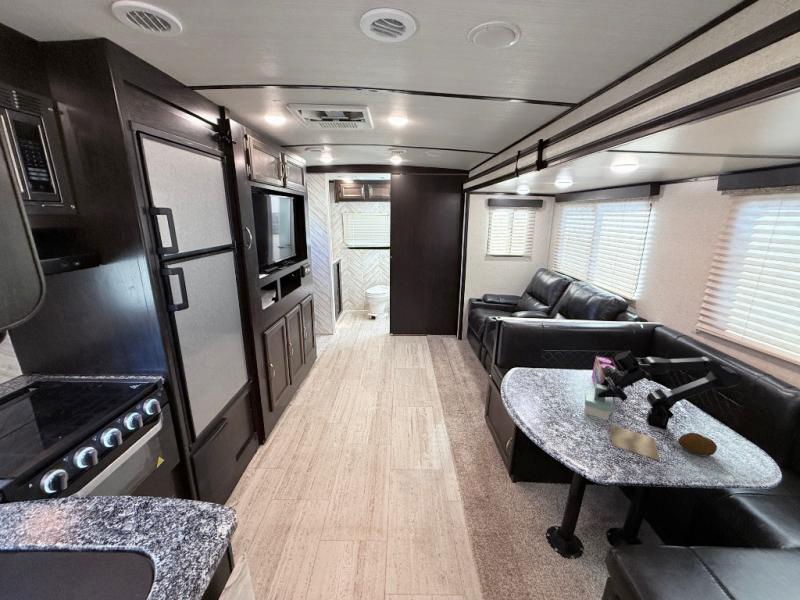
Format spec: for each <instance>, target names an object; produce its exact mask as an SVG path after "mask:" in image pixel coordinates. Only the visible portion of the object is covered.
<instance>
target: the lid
mask: <svg viewBox="0 0 800 600" xmlns="http://www.w3.org/2000/svg"><path fill="white" fill-rule="evenodd" d="M606 389H607V386H603V385H599V384H597V385H596V389H595V388H594V391H591V390H586V391H585V394H584V395H585V396H584V406H585V405H586V406H590V407H593V408H597V409H600V410H604V411H607V412H610V413H611V414H613V411H614V401H613V400H614V399H613V398H612V397H600V398H599V397H598V396H597V395H598V394H600V393H601V392H603V391H604V390H606Z"/></svg>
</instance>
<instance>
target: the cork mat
mask: <svg viewBox="0 0 800 600" xmlns="http://www.w3.org/2000/svg"><path fill="white" fill-rule="evenodd" d="M610 436H611V446H613V447H616V448H619V449H621V450H625V451H627V450H628V451H627V452H630V451H631V452H630V453H634V454H637V455H639V454H640V456H642V455H643V456H642V457H645V456H646V457H645V458H648V457H650V458H649V459H651V458H652V459H651V460H654V459H655V461H657V460H658V461H657V462H661V459H660V455H659V451H658V447H657V443H656V440H655V437H652V436H649V435H645V434H641V433H639V432H635V431H633V430H628V429H625V428H622V427H619V426H617V425H614V424H611V425H610Z"/></svg>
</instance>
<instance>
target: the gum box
mask: <svg viewBox="0 0 800 600" xmlns="http://www.w3.org/2000/svg"><path fill="white" fill-rule="evenodd" d="M606 366H609V367H611V368H612V369H614V370H616V371H617V372H619V371H620V370H619V369H618V368H617V366H616V364H615V362H614V359H613V358H612V357H606V356H602V355H596V356H595V359H594V364H593V368H592V374H591V380H592V382H593V387H594V390H595V389H596V385H597V384H599V385H600V384H601V383H602V382H603V376H604V377H606V376H605V375H604V374H603V371H602V370H603V369H604V368H605V367H606ZM612 386H613V385H612ZM612 398H613V400H614V399H615V397H612Z"/></svg>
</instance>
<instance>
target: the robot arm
mask: <svg viewBox="0 0 800 600" xmlns="http://www.w3.org/2000/svg"><path fill="white" fill-rule="evenodd" d="M614 360H615V361H616V362H617V364H618V365H619V366H620V367H621V368H622V369H623V370H624V371H623V370H618V371H619V372H617V371H616V370H614V369H612V368H611V367H609V366H606V367H605V368H604V369H603V370H602V371H603V374H604V375H605V376H606V377H604V376H603V382H602V383H601V384H600V385H603V386H607V389H606V390H604V391H603V392H601V393H600V394H598V395H597V396H598V397H599V398H600V397H614V398H618V399H620V400H621V401H622V402H625V401H626V400H628V395H627V394H626V392H625V388H627V387H629V386H630V387H634V384H635V383H637V382H639V381H641V380H644V379H646V380H647V381H648V382H651V380H652V379H651V378H652V375H653V376H654V375H655V376H656V375H664V374H667V373H668V372H671V371H689V370H691V371H692V370H709V372H708V373H707V374H706V375H705V377H702V378H699V379H696V380H694V381H692V382H689V383H686V384H683V385H681V386H678V387H676V388H673V389H669V390H662V389H661V388H657V389H655V390H653V391H651V390H650V393H649V394H647V395H646V401H647V403H648V404H649V406H650V410H648V411H647V415H646V421H647V425H648V426H650V427H654V428H657V429H661V430H663V431H668V424H669V420H670V419H672V418H673V417H674V413H673V412H672V411H671V409H672V408H673V407H674V406H675V404H677V403H678V402H680V401H683V400H686V399H688V398H691V397H694V396H696V395H700V394H703V393H705V392H708V391H711V390H714V389H718V388H719V389H727V388H728V389H729V388H732V387H737V386H739V385H740V384H741V382H742V379H743V377H742V376H741V375H740V374H739V373H738V372H736V371H734V370H733V369H732V368H730V367H728V366H724V365H720V364H718V363H717V361H715V360H713V359H712V358H711V357H709V356H702V357H687V358H685V357H683V358H670V359H669V358H663V357H656V356H655V357H654V356H647V357H635V355H634V354H633V353H632V352H631V351H630V350H628V351H622V352H619V353H616V355H615V356H614ZM638 366H639V367H638ZM612 385H613V386H612Z"/></svg>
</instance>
